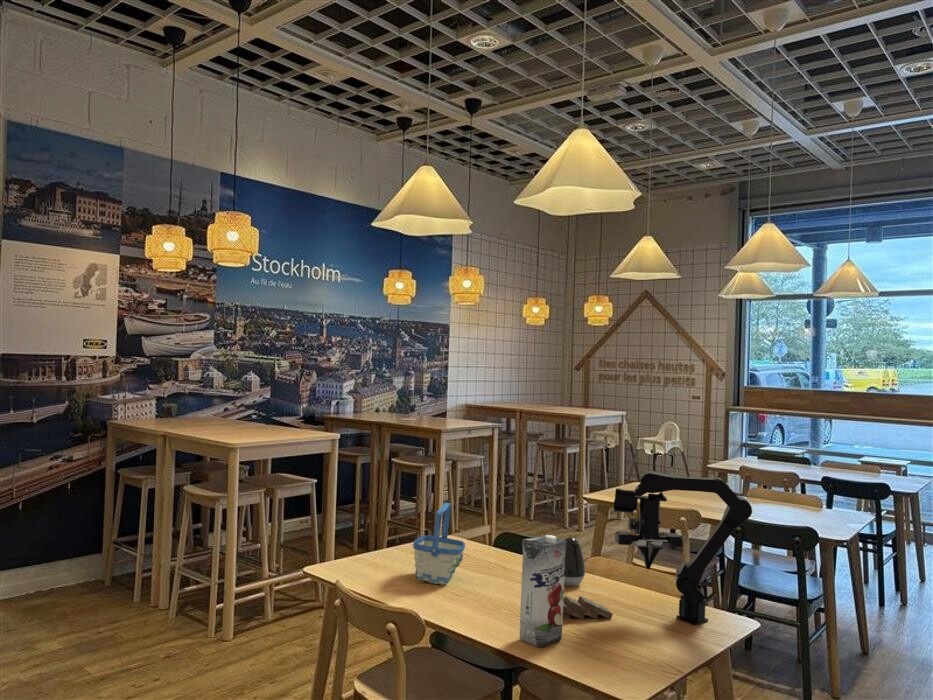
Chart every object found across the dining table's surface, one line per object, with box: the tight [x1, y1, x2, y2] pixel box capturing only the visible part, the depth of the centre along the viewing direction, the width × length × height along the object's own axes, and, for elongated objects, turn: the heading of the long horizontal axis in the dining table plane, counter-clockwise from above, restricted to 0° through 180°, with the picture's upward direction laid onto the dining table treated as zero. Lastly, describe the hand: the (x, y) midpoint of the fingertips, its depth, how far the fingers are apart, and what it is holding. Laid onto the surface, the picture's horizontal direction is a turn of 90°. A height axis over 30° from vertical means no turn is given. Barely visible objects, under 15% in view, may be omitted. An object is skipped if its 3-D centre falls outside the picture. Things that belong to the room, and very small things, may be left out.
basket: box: [412, 502, 466, 586], centre depth 229 cm, size 21×16×24 cm
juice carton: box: [519, 534, 566, 648], centre depth 179 cm, size 9×10×27 cm
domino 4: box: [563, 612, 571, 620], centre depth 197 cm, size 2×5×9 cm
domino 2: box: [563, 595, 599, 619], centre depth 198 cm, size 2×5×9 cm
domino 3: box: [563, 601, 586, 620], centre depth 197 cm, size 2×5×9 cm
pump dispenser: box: [563, 536, 586, 587], centre depth 229 cm, size 10×10×15 cm
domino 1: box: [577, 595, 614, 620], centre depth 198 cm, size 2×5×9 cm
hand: (647, 568), depth 203 cm, fingers closed
